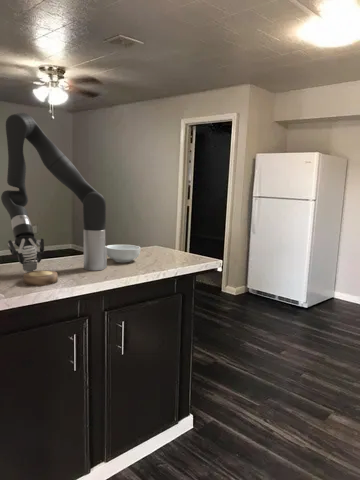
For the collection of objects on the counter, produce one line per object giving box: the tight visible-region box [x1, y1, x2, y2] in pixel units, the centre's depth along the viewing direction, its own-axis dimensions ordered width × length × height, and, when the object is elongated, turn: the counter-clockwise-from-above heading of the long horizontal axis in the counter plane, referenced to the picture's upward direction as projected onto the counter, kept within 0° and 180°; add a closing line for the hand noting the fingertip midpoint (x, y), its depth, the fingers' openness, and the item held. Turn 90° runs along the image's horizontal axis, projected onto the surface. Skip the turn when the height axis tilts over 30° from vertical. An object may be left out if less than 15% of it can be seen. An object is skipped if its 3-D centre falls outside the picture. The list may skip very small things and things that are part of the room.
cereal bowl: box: [105, 244, 141, 263], centre depth 190 cm, size 17×17×7 cm
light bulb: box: [21, 246, 38, 273], centre depth 155 cm, size 6×6×12 cm
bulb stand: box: [22, 269, 58, 287], centre depth 147 cm, size 12×12×3 cm
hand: (30, 262), depth 154 cm, fingers closed on light bulb, 5 cm apart
